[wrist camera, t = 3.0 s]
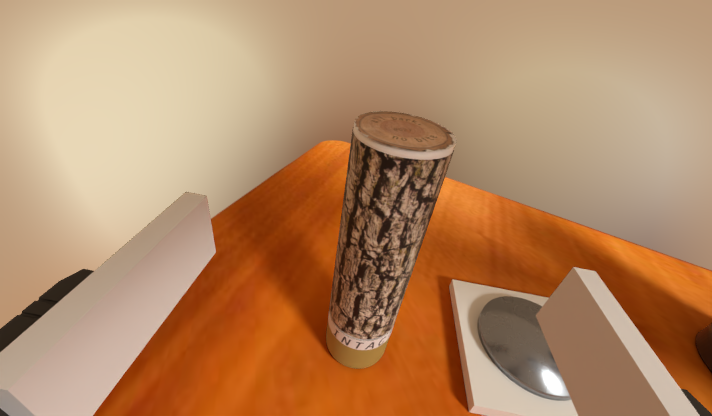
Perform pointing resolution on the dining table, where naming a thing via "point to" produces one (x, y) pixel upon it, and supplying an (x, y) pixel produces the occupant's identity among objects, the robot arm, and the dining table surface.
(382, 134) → the paper tube
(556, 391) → the domed button base
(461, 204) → the dining table surface
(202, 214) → the robot arm
